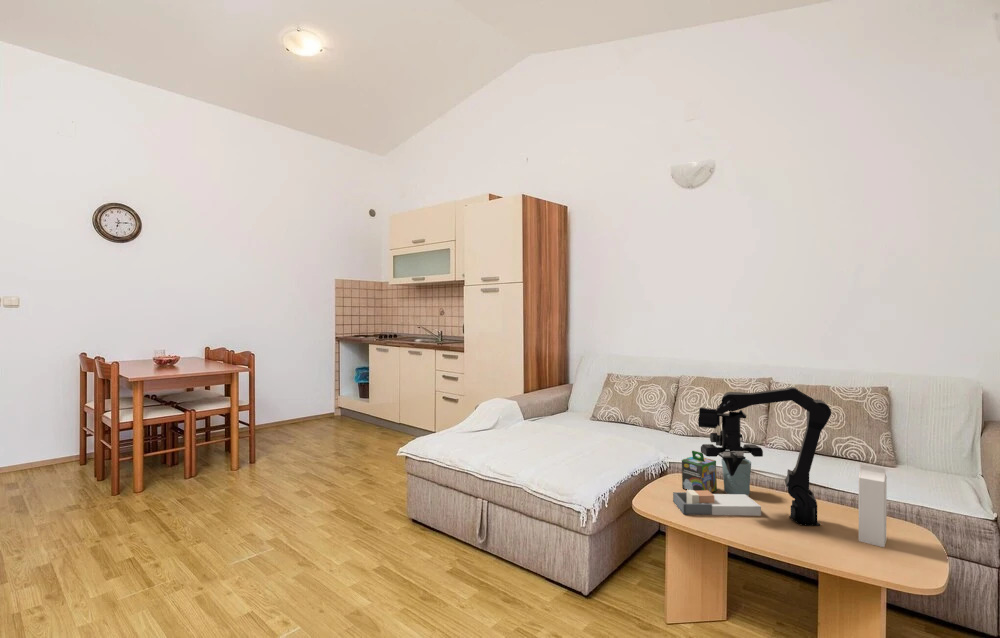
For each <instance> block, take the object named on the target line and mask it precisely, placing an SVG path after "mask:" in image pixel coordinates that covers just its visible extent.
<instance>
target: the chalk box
mask: <svg viewBox="0 0 1000 638" xmlns="http://www.w3.org/2000/svg"><path fill="white" fill-rule="evenodd" d="M691 454H692V456H689V457H687V458H683V459H681V484H682V485H681V486H682V487H681V488H685V489H688V490H694V491H699V490H708V491H709V492H711V493H713V492H717V491H718V489H717V488H718V487H717V485H718V484H717V460H714V459H711V458H707V457H704V454H703V453H702V452H701V451H696V450H691ZM698 455H699V456H698ZM685 489H684V490H685Z"/></svg>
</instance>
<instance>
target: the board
mask: <svg viewBox="0 0 1000 638" xmlns="http://www.w3.org/2000/svg"><path fill="white" fill-rule="evenodd" d="M712 494H713V495H714V503H702V504H712V515H711V516H752V517H753V516H756V517H757V516H759V517H760V516H762V506H761V505H760V504H758V503H757V502H756V501H755V500H754V499H752V498H751V497H749V495H748V496H747V495H746V494H728V493H712Z"/></svg>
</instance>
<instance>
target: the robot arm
mask: <svg viewBox="0 0 1000 638" xmlns="http://www.w3.org/2000/svg"><path fill="white" fill-rule="evenodd" d="M790 401H792V402H794V403H795V404H797V405H798V406H799V407H800V408H802V409H804V410H805V411H806V428H805V432H804V434H803V439H802V442H801V446H800V448H799V453H798V456H797V459H796V462H795V463H796V464H795V466H794V468H793V470H791V469H787V473H786V478H784V482H785V487H786V489H787V492H788V494H789V496H790V497H792V500H791V505H790V515H788V517H789V518H790V519H791V520H792V521H793V522H795V523H796V524H797V525H799V526H818V527H819V526H821V522H819V521H818V501H817V500H816V497H815V494H814V492H813V491H812V490H811V489H810V472H811V468H812V465H813V461H814V457H815V454H816V451H817V448H818V444H819V440H820V435H821V432H822V431H823V429H825V427H826V425H828V421H829V420H830V418H831V416H832V409H831V407H830V406H829V405H828V404H827V403H826V402H825V401H823V400H821V399H814V398H812V397H811V396H809V395H808V394H806V393H803V392H802V391H800V390H799V389H798V388H797V387H794V386H790V387H787V388H780V389H773V390H772V389H769V390H764V391H755V392H744V391H743V392H741V391H729V392H725V393H724V394H723V395H722V399H721V402H720V403H719V405H717V407H716V408H709V407H707V408H706V407H702V406H701V407H699V412H698V418H697V419H698V421H697V422H698V423H697V425H698V428H706V429H717V427H718V426H719V427H720V425H721V430H720V431H719V432H720V433H719V434H718V433H717V432H710V434H709V435H710V436H709V440H710V442H711V443H707V444H706V443H704V444H702V445H701V446H700V452H701V453H703V456H704V455H705V456H706V457H710V458H711V457H715V458H716V457H717V456H719V457H720V458H721V459H722V458H723V459H724V461H725V464H726V466H727V469H728V472H729V474H730V476H733V475H734V473H735V472H736V470H737V468H738V466H739V464H740V463H741V461H742V460H743V459H747V458H746V456H744V454H751V455H752V457H754V458H756V457H761V458H762V457H763V456H764V451H763V448H761V447H760V446H758V445H757V444H754V443H753V444H749V443H748V444H747V443H746V444H745V443H744V445H743V446H741V445H742V444H741V440H742V439H743V434H741V419H746V418H747V414H746V413H745V412H744V411H743V410H744V409H745V408H749V407H751V406H754V405H755V406H756V405H764V404H765V405H766V404H772V403H782V402H790ZM742 409H743V410H742ZM712 443H715V444H712ZM793 499H794V500H793Z"/></svg>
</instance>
